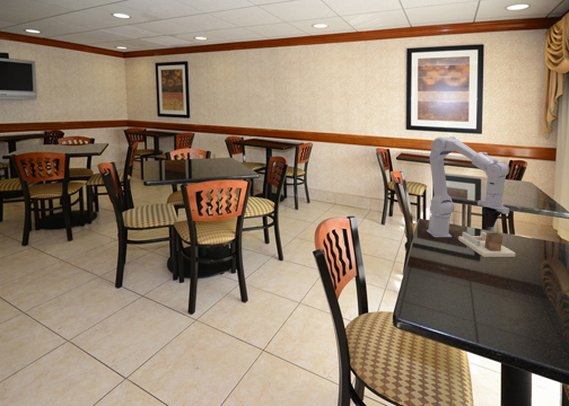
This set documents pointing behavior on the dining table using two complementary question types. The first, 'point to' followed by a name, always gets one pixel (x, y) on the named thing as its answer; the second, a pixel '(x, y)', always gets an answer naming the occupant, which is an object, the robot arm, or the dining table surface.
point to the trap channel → (479, 246)
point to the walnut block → (493, 241)
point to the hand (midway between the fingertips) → (490, 226)
